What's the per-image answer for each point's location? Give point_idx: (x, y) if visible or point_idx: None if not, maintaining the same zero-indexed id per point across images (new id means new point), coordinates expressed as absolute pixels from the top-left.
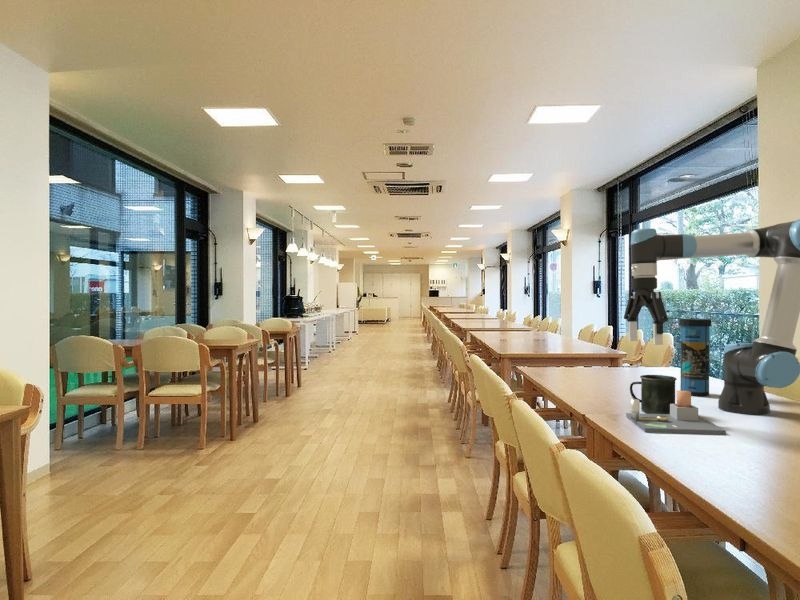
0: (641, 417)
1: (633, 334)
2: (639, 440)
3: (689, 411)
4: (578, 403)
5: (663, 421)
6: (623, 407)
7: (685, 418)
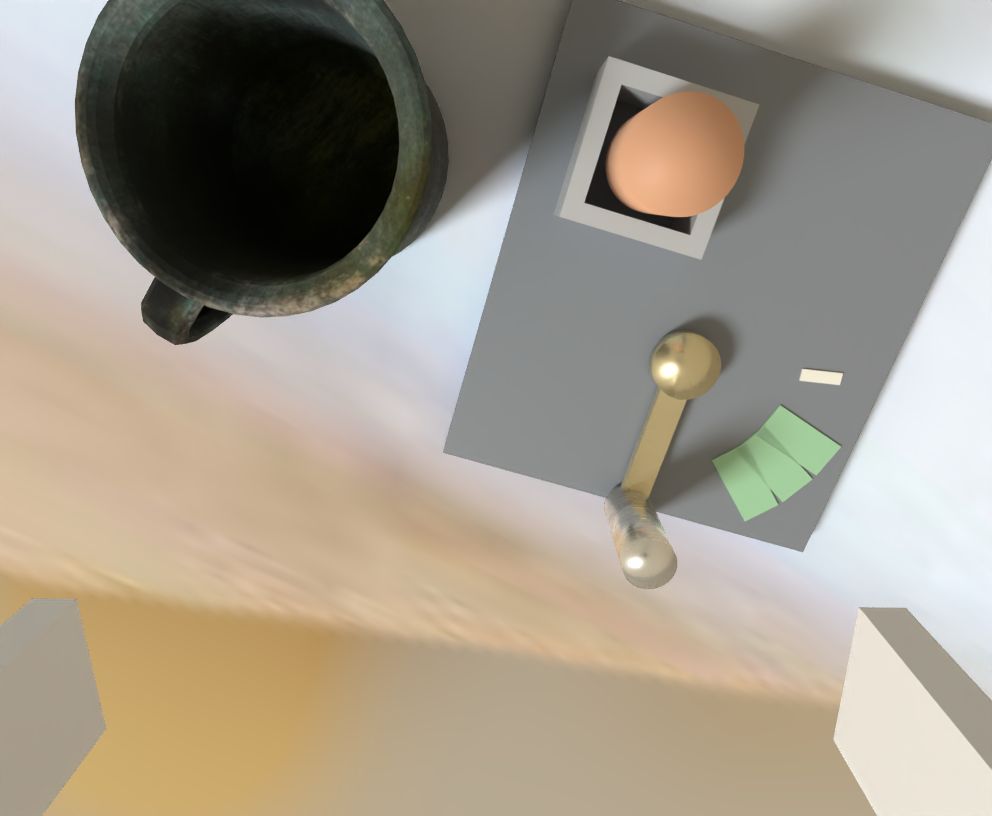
0: (643, 479)
1: (4, 777)
2: None
3: None
4: (42, 527)
5: None
6: None
7: None
